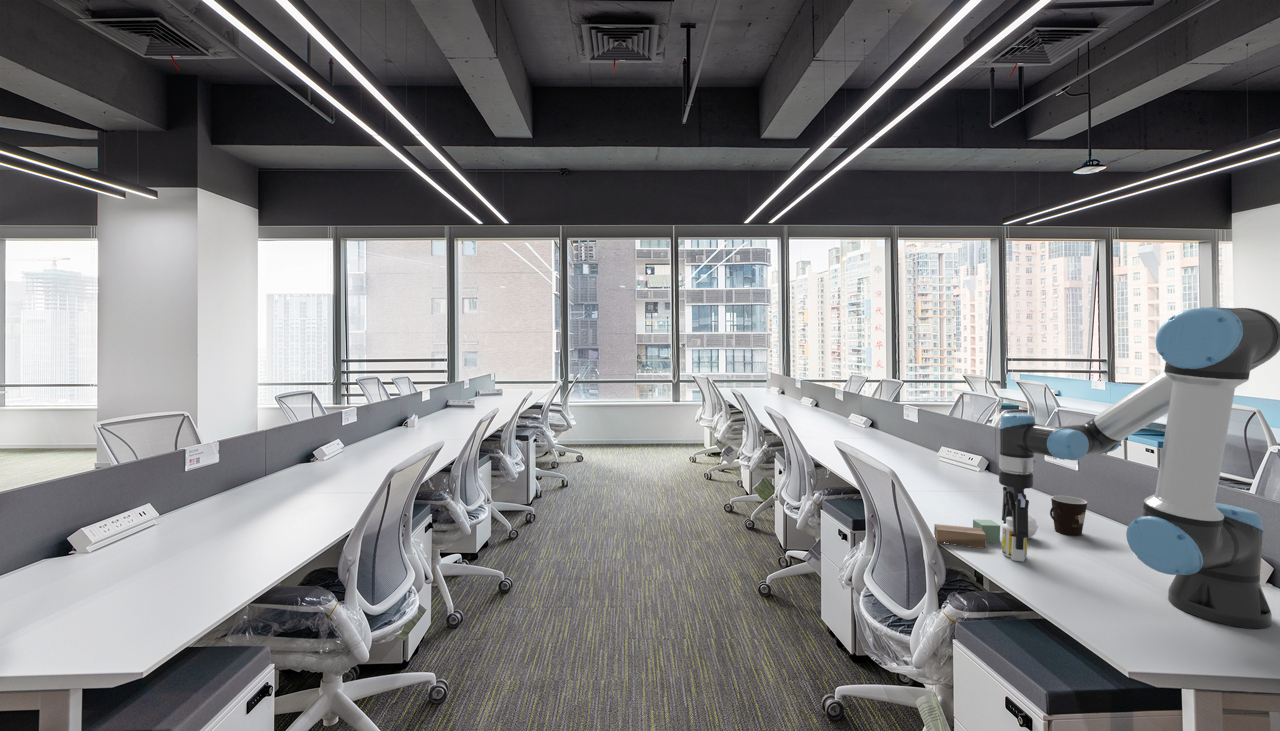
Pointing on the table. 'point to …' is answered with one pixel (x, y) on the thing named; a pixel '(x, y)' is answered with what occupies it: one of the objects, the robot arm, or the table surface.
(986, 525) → the green cube
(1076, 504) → the coffee mug
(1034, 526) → the geometric ball
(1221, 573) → the robot arm
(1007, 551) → the supplement bottle
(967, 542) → the walnut block
